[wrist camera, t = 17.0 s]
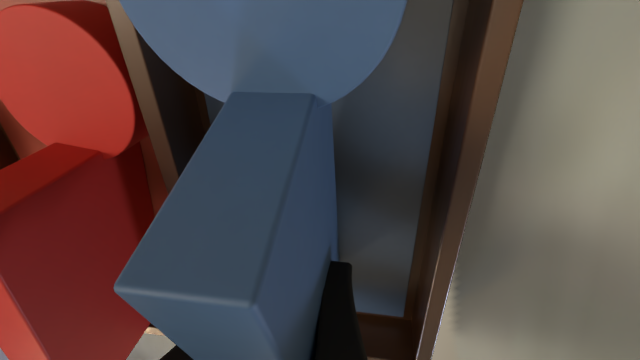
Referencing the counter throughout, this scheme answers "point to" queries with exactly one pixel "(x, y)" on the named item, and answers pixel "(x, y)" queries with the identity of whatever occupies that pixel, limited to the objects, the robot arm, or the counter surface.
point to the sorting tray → (361, 155)
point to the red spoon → (69, 185)
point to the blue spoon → (253, 170)
